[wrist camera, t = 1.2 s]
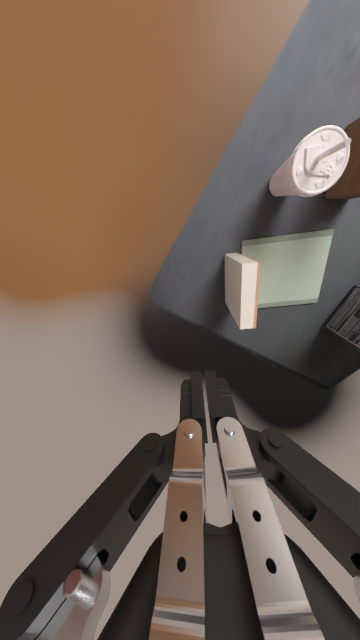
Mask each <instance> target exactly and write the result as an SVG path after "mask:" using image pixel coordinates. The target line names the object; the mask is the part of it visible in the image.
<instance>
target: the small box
mask: <svg viewBox="0 0 360 640" xmlns="http://www.w3.org/2000/svg"><path fill="white" fill-rule="evenodd" d="M322 327H323V329H326V330H328V331H329V332H331V333H332V334H334V335H335V336H336V337H338V338H339V339H341V340H342V341H344V342H345V343H347V344H348V345H350V346H352V347H353V348H354V349H356V350H358V351H359V352H360V286H358V285H355V286H354V287H353V288H352V289H351V290H350V292H349V293H348V294H347V296H346V297H345V298H344V299H343V301H342V302H341V303H340V304H339V306H338V307H337V308H336V309H335V311H334V312H333V313H332V315H331V316H330V317H329V318H328V320H327V321H326V322H325V323H324V325H323V326H322Z"/></svg>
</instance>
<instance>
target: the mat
mask: <svg viewBox="0 0 360 640" xmlns="http://www.w3.org/2000/svg"><path fill="white" fill-rule="evenodd" d="M333 232H334V229H329V230H322V231H314V232H306V233H298V234H290V235H283V236H275V237H267V238H259V239H251V240H244V241H242V255H245V256H247V257H250V258H252V259H255V260H257V261H260V262H261V266H260V279H259V292H258V306H257V308H266V307H277V306H287V305H297V304H308V303H317V301H318V296H319V292H320V288H321V284H322V279H323V275H324V271H325V266H326V262H327V258H328V253H329V249H330V245H331V240H332V236H333Z"/></svg>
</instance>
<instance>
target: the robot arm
mask: <svg viewBox="0 0 360 640" xmlns="http://www.w3.org/2000/svg"><path fill="white" fill-rule="evenodd" d="M205 380H206V392H207V401H208V409H209V417H210V424H211V432H212V440H213V443H217V449H218V460H219V465H220V470H221V476H222V481H223V486H224V491H225V497H226V502H227V510H228V516H229V522H230V524H229V525H226V526H224V527H217V526H214V525H211V524H209V523H207V506H206V482H205V444H204V443H208V441H207V430H206V418H205V409H204V399H203V389H202V380H201V371H195V372H191V379H188V380H184V381H183V383H182V385H181V400H180V421H179V425H178V426H177V428H176V429H175V430H174V431H172V432H171V433H169V434H166V435H164V436H160V435H159V434H157V433H150V434H147V435H145V436H144V437H143V438H142V439H141V440H140V441H139V442H138V443H137V445H136V446H135V447H134V448H133V449H132V450H131V451H130V452H129V454H128V455H127V456H126V457H125V458H124V459H123V460H122V461H121V462H120V464H119V465H118V466H117V467H116V468H115V469H114V470H113V471H112V473H111V474H110V475H109V476H108V477H107V478H106V479H105V481H104V482H103V483H102V484H101V485H100V486H99V487H98V488H97V489H96V491H95V492H94V493H93V494H92V495H91V496H90V497H89V498H88V499H87V501H86V502H85V503H84V504H83V505H82V506H81V508H79V510H78V511H77V512H76V513H75V514H74V515H73V516H72V517H71V519H70V520H69V521H68V522H67V523H66V524H65V525H64V526H63V528H62V529H61V530H60V531H59V532H58V533H57V534H56V535H55V536H54V538H53V539H52V540H51V541H50V542H49V543H48V545H46V547H45V548H44V549H43V550H42V551H41V552H40V553H39V554H38V556H37V557H36V558H35V559H34V560H33V561H32V562H31V563H30V565H29V566H28V567H27V568H26V569H25V570H24V571H23V572H22V573H21V575H20V576H19V577H18V578H17V579H16V581H15V582H14V583H13V585H12V586H11V588H10V589H9V591H8V593H7V594H6V596H5V598H4V600H3V603H2V605H1V607H0V640H93V639H94V634H95V630H96V628H97V625H98V622H99V620H100V618H101V616H102V614H103V611H104V609H105V607H106V605H107V602H108V598H109V594H110V587H111V579H110V573H109V572H110V570H111V569H112V567H113V566H114V564H115V563H116V561H117V560H118V558H119V557H120V555H121V554H122V552H123V550H124V549H125V547H126V546H127V544H128V543H129V541H130V540H131V538H132V537H133V535H134V534H135V532H136V531H137V529H138V527H139V526H140V524H141V523H142V521H143V520H144V518H145V517H146V515H147V513H148V512H149V511H150V509H151V508H152V506H153V504H154V503H155V501H156V500H157V498H158V497H159V495H160V494H161V492H162V491H163V489H164V488H165V486H166V485H167V483H168V481H169V485H168V494H167V503H166V512H165V521H164V530H163V532H162V533H161V534H160V535H159V536H158V537H157V538H156V539H155V540H154V542H153V543H152V545H151V546H150V547H149V549H148V551H147V553H146V555H145V556H144V558H143V560H142V561H141V563H140V565H139V567H138V568H137V570H136V572H135V574H134V576H133V577H132V579H131V581H130V583H129V585H128V586H127V588H126V590H125V591H124V593H123V595H122V597H121V599H120V601H119V602H118V604H117V606H116V607H115V609H114V611H113V613H112V615H111V616H110V618H109V620H108V622H107V623H106V625H105V627H104V629H103V630H102V632H101V634H100V636H99V638H98V639H97V640H360V619H359V618H358V617H357V615H356V614H355V613H354V612H353V610H352V609H351V608H350V607H349V606H348V604H347V603H346V602H345V601H344V600H343V599H342V597H341V596H340V595H339V594H338V593H337V591H336V590H335V589H334V588H333V587H332V585H331V584H330V583H329V582H328V581H327V579H326V578H325V577H324V576H323V575H322V573H321V572H320V571H319V570H318V569H317V567H316V566H315V565H314V564H313V563H312V561H311V560H310V559H309V558H308V557H307V555H306V554H305V553H304V552H303V551H302V550H301V548H300V547H299V546H298V545H297V544H296V543H294V541H292V540H291V539H290V538H289V537H288V536H286V535H285V534H284V533H283V531H282V528H281V525H280V522H279V520H278V517H277V514H276V511H275V508H274V506H273V503H272V500H271V497H270V495H269V492H268V489H267V486H268V487H269V488H270V489H271V490H272V491H273V493H274V494H275V495H276V496H277V497H278V498H279V499H280V500H281V501H282V502H283V503H284V504H285V505H286V506H287V507H288V509H290V511H292V513H293V514H294V515H295V516H296V517H297V518H298V519H299V520H300V521H301V522H302V523H303V524H304V526H305V527H306V528H307V529H308V530H309V531H310V532H311V533H312V534H313V535H314V536H315V537H316V538H317V540H318V541H320V543H321V544H323V546H324V547H325V548H326V549H327V550H328V551H329V552H330V553H331V554H332V556H333V557H335V559H336V560H337V561H338V562H339V563H340V564H341V565H342V566H343V567H344V568H345V569H346V570H347V571H348V573H349V574H350V575H351V576H352V577H353V578H354V587H355V591H356V594H357V597H358V599H359V602H360V492H358V491H357V490H356V489H355V488H353V487H352V486H351V485H349V484H348V483H347V482H345V481H344V480H343V479H341V478H340V477H339V476H338V475H336V474H335V473H334V472H333V471H331V470H330V469H328V468H327V467H326V466H325V465H324V464H322V463H321V462H319V461H318V460H317V459H316V458H314V457H313V456H312V455H311V454H309V453H308V452H307V451H305V450H304V449H302V447H300V446H299V445H298V444H296V443H295V442H294V441H292V440H291V439H290V438H289V437H287V436H286V435H285V434H283V433H282V432H280V431H279V430H276V429H272V428H268V429H265V430H264V431H262V432H259V431H255V430H252V429H249V428H247V427H245V426H244V425H243V424H242V423H241V422H240V421H239V419H238V417H237V414H236V410H235V407H234V403H233V399H232V396H231V392H230V389H229V385H228V382H227V381H226V380H225V379H224V377H217V378H216V373H215V370H208V371H205ZM266 485H267V486H266Z"/></svg>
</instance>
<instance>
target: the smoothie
mask: <svg viewBox="0 0 360 640" xmlns="http://www.w3.org/2000/svg"><path fill="white" fill-rule="evenodd" d="M350 143H351V138H348V136H347V134H346V133H345V132H344V130H342V129H341V128H340V127H338V126H334V125H327V126H323V127H320V128H318V129H316V130H314V131H313V132H312V133H310V134H309V135H307V136H306V137H305V138H303V139H302V141H301V142H300V143H299V144H298V145H297V147H296V148H295V150H294V152H293V154H292V155H291V156H290V157H289V158H288V159H287V160H286V161H285V162H284V163H283V165H282V166H281V167H280V168H279V169H278V170H277V171H276V172H275V173H274V174H273V175H272V177H271V179H270V182H269V190H270V192H271V194H272V195H274V196H277V197H278V196H291V195H299V196H304V197H311V196H315V195H317V194H320V193H322V192H324V191H326V190H328V189H329V188H330V187H332V186H333V185H334V184H335V183H336V182H337V180H338V179H339V178H340V177H341V175H342V173H343V172H344V170H345V168H346V165H347V163H348V159H349V155H350Z"/></svg>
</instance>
